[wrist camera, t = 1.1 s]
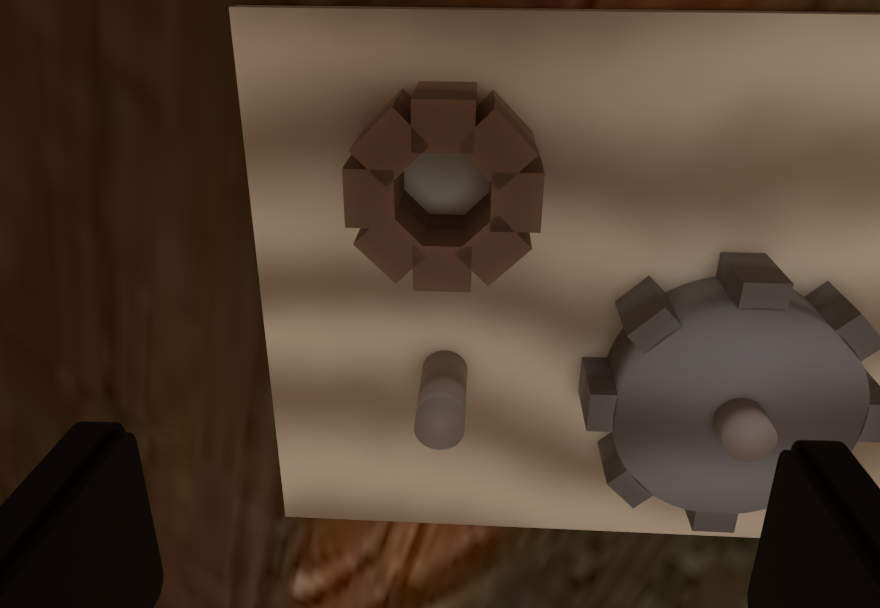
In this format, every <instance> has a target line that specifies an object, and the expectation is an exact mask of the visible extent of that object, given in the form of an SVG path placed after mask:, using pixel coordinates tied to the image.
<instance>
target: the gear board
mask: <svg viewBox="0 0 880 608" xmlns="http://www.w3.org/2000/svg"><path fill="white" fill-rule="evenodd" d="M229 14H230V23H231V32H232V41H233V50H234V59H235V68H236V77H237V86H238V95H239V104H240V113H241V122H242V131H243V140H244V149H245V158H246V166H247V175H248V184H249V193H250V202H251V211H252V220H253V229H254V238H255V247H256V256H257V265H258V274H259V283H260V292H261V301H262V310H263V319H264V328H265V336H266V345H267V354H268V363H269V372H270V381H271V390H272V399H273V408H274V417H275V426H276V435H277V444H278V453H279V462H280V471H281V480H282V489H283V498H284V506H285V515H286V517H308V518H330V519H352V520H374V521H397V522H419V523H441V524H463V525H485V526H508V527H530V528H552V529H574V530H597V531H619V532H641V533H663V534H686V535H708V536H730V537H752V538H760V536H761V531H762V527H763V522H764V518H765V514H766V509H767V505H768V500H769V496H770V492H771V487H772V483H773V478H774V474H775V470H776V465H777V461H778V457H779V454H780V453H781V451H783V450H791V447H792V445H793V444H794V442H795V441H797V440H827V441H840V442H843V443H844V444H845V445H846V446H847V447H848V448H849V450H850V451H851V452H852V454H853V455H854V456H855V457H856V459H857V460H858V461H859V463H860V464H861V465H862V466H863V468H864V469H865V470H866V471H867V473H868V474H869V475H870V477H871V478H872V479H873V480H874V482H875V483H876V484H877V485H878V487H879V488H880V12H801V11H714V10H628V9H541V8H455V7H368V6H282V5H235V6H231V7H229ZM419 81H435V82H477V106H478V105H479V104H480V103H481V102H482V101H483V100H484V99H485V98H486V97H487V96H488V95H489V94H490V93H491V92H492V91H493V90H495V91H496V92H497V94H498V95H499V96H500V97H501V98H502V99H503V100H504V101H505V102H506V103H507V104H508V105H509V107H510V108H511V109H512V110H513V111H514V112H515V113H516V114H517V115H518V116H519V117H520V118H521V120H522V121H523V122H524V123H525V124H526V125H527V126H528V127H529V128H530V129H531V130H532V131H533V135H534V139H535V144H536V148H538V149H539V153H540V156H541V160H542V164H543V168H544V172H545V179H544V193H543V207H542V221H541V233H530V238H531V245H532V250H531V251H529V252H528V253H527V254H526V255H525V256H524V257H522V258H521V259H520V260H519V261H518V262H516V263H515V264H514V265H513V266H512V267H511V268H509V269H508V270H507V271H506V272H505V273H503V274H502V275H501V276H500V277H499V278H498V279H496V280H495V281H494V282H493V283H492V284H491V285H489V286H487V285H486V284H485V283H484V282H483V281H482V280H481V279H480V278H479V277H478V276H477V275H476V274H475V273H473V272H472V275H471V293H470V292H437V291H413V269H412V270H411V271H409V272H408V273H407V274H406V275H405V276H404V277H403V278H402V279H401V280H399V281H398V282H397V283H396V284H395V283H394V282H393V281H392V280H391V279H390V278H389V277H388V276H387V275H386V274H385V273H383V272H382V271H381V270H380V269H379V268H378V267H377V266H376V265H375V264H374V263H373V262H372V261H370V260H369V259H368V258H367V257H366V256H365V255H364V254H363V253H362V252H361V251H360V250H359V249H357V248H356V247H355V246H354V245H353V243H354V241H355V239H356V237H357V234H358V232H359V230H360V228H345V218H344V200H343V181H342V168H343V166H344V165H345V163H346V162H347V160H348V159H349V157H350V156H351V153H350V152H349V150H350V148H351V147H352V145H353V144H354V142H355V141H356V139H357V138H358V136H359V135H360V133H361V132H362V130H363V129H364V127H365V126H366V125H367V124H368V123H369V122H370V121H371V120H372V119H373V118H374V117H375V116H376V115H377V114H378V113H379V112H380V111H381V110H382V109H383V108H384V107H385V106H386V105H387V104H388V103H389V102H390V101H391V100H392V99H393V98H394V96H395V95H396V94H397V93H398V92H399V91H400V90H401V89H402V88H403V89H404V90H405V91H406V92H407V93H408V94H409V95H410V96H411V97H412V95H413V93H414V91H415V89H416V87H417V85H418V83H419ZM404 190H405V191H406V192H407V193H408V194H409V195H410V196H411V197H412V198H413V199H414V200H415V201H416V202H418V203H419V204H420V205H421V206H422V207H423V208H424V209H425V210H426V211H427V212H428V213H429V214H447V215H465V214H466V213H467V212H468V211H469V210H470V209H471V208H472V207H473V206H475V205H476V204H477V203H478V202H479V201H480V200H481V199H482V198H483V197H484V196H486V195H487V194H488V193H489V192H490V181H489V180H488V179H487V178H486V177H485V176H484V174H483V173H482V172H481V171H480V170H479V169H478V168H477V167H476V166H475V165H474V164H473V163H472V162H471V161H470V160H469V159H468V158H467V157H466V156H465V155H464V154H445V153H422V154H421V155H420V156H419V157H418V158H417V159H416V160H415V161H414V162H413V163H412V164H410V165H409V166H408V167H407V168H406V169H405V170H404Z"/></svg>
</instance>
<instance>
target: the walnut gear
mask: <svg viewBox="0 0 880 608" xmlns="http://www.w3.org/2000/svg"><path fill="white" fill-rule="evenodd" d="M349 152H350V153H351V156H350V157H349V159H348V160H347V162H346V163H345V165H344V166H343V168H342V181H343V200H344V218H345V228H360V230H359V232H358V234H357V237H356V239H355V241H354V243H353V245H354V246H355V247H356V248H357V249H359V250H360V251H361V252H362V253H363V254H364V255H365V256H366V257H367V258H368V259H369V260H370V261H372V262H373V263H374V264H375V265H376V266H377V267H378V268H379V269H380V270H381V271H382V272H383V273H385V274H386V275H387V276H388V277H389V278H390V279H391V280H392V281H393V282H394V283H395V284H396V283H397V282H398V281H399V280H401V279H402V278H403V277H404V276H405V275H406V274H407V273H408V272H409V271H411V270H412V269H413V291H437V292H470V293H471V275H472V272H473V273H475V274H476V275H477V276H478V277H479V278H480V279H481V280H482V281H483V282H484V283H485V284H486V285H487V286H489V285H491V284H492V283H493V282H494V281H495V280H496V279H498V278H499V277H500V276H501V275H502V274H503V273H505V272H506V271H507V270H508V269H509V268H511V267H512V266H513V265H514V264H515V263H516V262H518V261H519V260H520V259H521V258H522V257H524V256H525V255H526V254H527V253H528V252H529V251H531V250H532V245H531V238H530V233H541V221H542V207H543V193H544V179H545V172H544V168H543V164H542V160H541V156H540V153H539V149H538V148H536V144H535V139H534V135H533V131H532V130H531V129H530V128H529V127H528V126H527V125H526V124H525V123H524V122H523V121H522V120H521V118H520V117H519V116H518V115H517V114H516V113H515V112H514V111H513V110H512V109H511V108H510V107H509V105H508V104H507V103H506V102H505V101H504V100H503V99H502V98H501V97H500V96H499V95H498V94H497V92H496V91H495V90H493V91H492V92H491V93H490V94H489V95H488V96H487V97H486V98H485V99H484V100H483V101H482V102H481V103H480V104H479V105H478V106H477V82H435V81H419V83H418V85H417V87H416V89H415V91H414V93H413V95H412V97H411V96H410V95H409V94H408V93H407V92H406V91H405V90H404V89H403V88H402V89H401V90H400V91H399V92H398V93H397V94H396V95H395V96H394V98H393V99H392V100H391V101H390V102H389V103H388V104H387V105H386V106H385V107H384V108H383V109H382V110H381V111H380V112H379V113H378V114H377V115H376V116H375V117H374V118H373V119H372V120H371V121H370V122H369V123H368V124H367V125H366V126H365V127H364V129H363V130H362V132H361V133H360V135H359V136H358V138H357V139H356V141H355V142H354V144H353V145H352V147H351V148H350V150H349ZM422 153H445V154H464V155H465V156H466V157H467V158H468V159H469V160H470V161H471V162H472V163H473V164H474V165H475V166H476V167H477V168H478V169H479V170H480V171H481V172H482V173H483V174H484V176H485V177H486V178H487V179H488V180H489V181H490V192H489V193H488V194H487V195H486V196H484V197H483V198H482V199H481V200H480V201H479V202H478V203H477V204H476V205H475V206H473V207H472V208H471V209H470V210H469V211H468V212H467V213H466V214H465V215H447V214H429V213H428V212H427V211H426V210H425V209H424V208H423V207H422V206H421V205H420V204H419V203H418V202H416V201H415V200H414V199H413V198H412V197H411V196H410V195H409V194H408V193H407V192H406V191H405V190H404V170H405V169H406V168H407V167H408V166H409V165H410V164H412V163H413V162H414V161H415V160H416V159H417V158H418V157H419V156H420V155H421V154H422Z"/></svg>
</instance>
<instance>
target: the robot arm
mask: <svg viewBox="0 0 880 608" xmlns="http://www.w3.org/2000/svg"><path fill="white" fill-rule="evenodd" d="M162 584H163V568H162V563H161V559H160V554H159V549H158V544H157V539H156V534H155V529H154V524H153V519H152V514H151V509H150V505H149V500H148V495H147V490H146V485H145V480H144V475H143V470H142V465H141V460H140V455H139V450H138V446H137V441H136V438H135V436H134V435H133V434H132V433H126V432H125V429H124V428H123V426H122V425H121V424H120V423H117V422H77V423H76V424H75V425H73V426H72V427H71V428H70V430H69V431H68V432H67V433H66V434H65V435H64V436H63V437H62V438H61V440H60V441H59V442H58V443H57V444H56V445H55V446H54V447H53V448H52V450H51V451H50V452H49V453H48V454H47V455H46V456H45V457H44V459H43V460H42V461H41V462H40V463H39V464H38V465H37V466H36V467H35V469H34V470H33V471H32V472H31V473H30V474H29V475H28V476H27V477H26V479H25V480H24V481H23V482H22V483H21V484H20V485H19V486H18V487H17V489H16V490H15V491H14V492H13V493H12V494H11V495H10V496H9V498H8V499H7V500H6V501H5V502H4V503H3V504H2V505H1V506H0V608H154V606H155V604H156V602H157V600H158V598H159V595H160V593H161V589H162ZM748 608H880V488H879V487H878V485H877V484H876V483H875V482H874V480H873V479H872V478H871V477H870V475H869V474H868V473H867V471H866V470H865V469H864V468H863V466H862V465H861V464H860V463H859V461H858V460H857V459H856V457H855V456H854V455H853V454H852V452H851V451H850V450H849V448H848V447H847V446H846V445H845V444H844V443H843V442H840V441H827V440H797V441H795V442H794V444H793V445H792V447H791V450H783V451H781V453H780V454H779V457H778V461H777V465H776V470H775V474H774V478H773V483H772V487H771V492H770V496H769V500H768V505H767V509H766V514H765V518H764V522H763V527H762V531H761V536H760V540H759V544H758V549H757V553H756V558H755V562H754V567H753V571H752V575H751V580H750V584H749V589H748Z"/></svg>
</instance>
